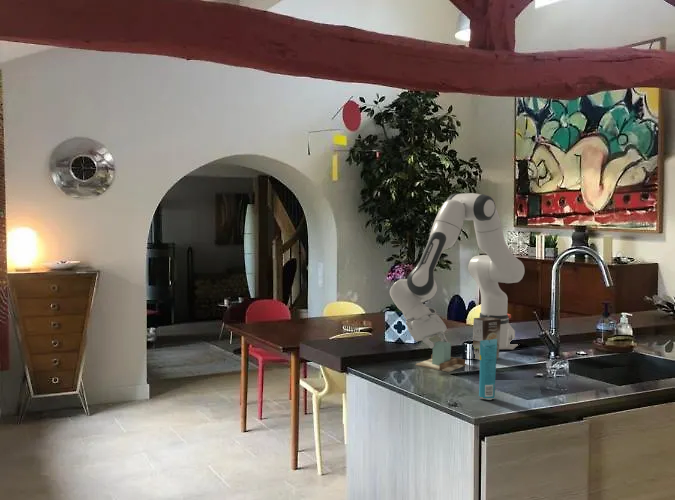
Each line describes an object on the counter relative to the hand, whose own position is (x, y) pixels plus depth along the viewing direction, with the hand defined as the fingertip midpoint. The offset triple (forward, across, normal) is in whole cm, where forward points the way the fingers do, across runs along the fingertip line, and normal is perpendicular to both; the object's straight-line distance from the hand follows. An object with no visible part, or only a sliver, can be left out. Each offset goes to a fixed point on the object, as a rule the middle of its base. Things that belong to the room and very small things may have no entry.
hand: (439, 345), depth 272 cm
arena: (+6, 0, +5) cm, 8 cm away
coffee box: (+11, +23, 0) cm, 25 cm away
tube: (+29, -29, -18) cm, 45 cm away
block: (+6, 0, +4) cm, 7 cm away
